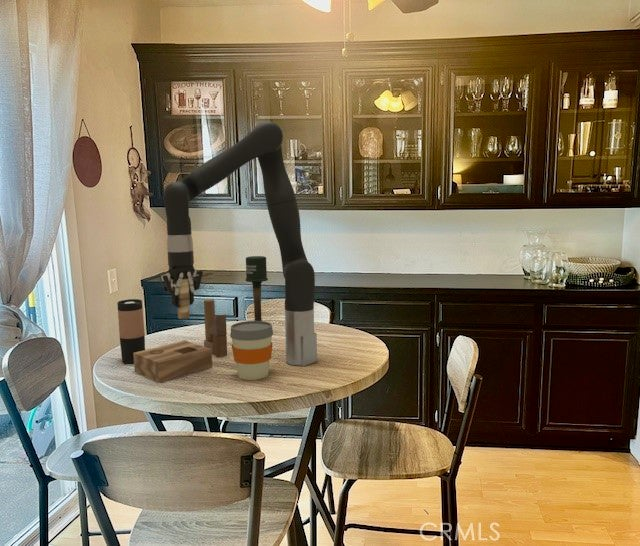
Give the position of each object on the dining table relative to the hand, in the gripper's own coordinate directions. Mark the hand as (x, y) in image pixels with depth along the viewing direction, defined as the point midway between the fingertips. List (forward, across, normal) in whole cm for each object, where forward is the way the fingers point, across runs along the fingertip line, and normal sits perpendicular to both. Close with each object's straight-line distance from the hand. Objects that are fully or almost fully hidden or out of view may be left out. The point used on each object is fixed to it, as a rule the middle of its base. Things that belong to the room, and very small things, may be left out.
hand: (183, 305), depth 156 cm
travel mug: (+20, -7, +20) cm, 29 cm away
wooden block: (+20, +16, +7) cm, 27 cm away
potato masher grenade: (+20, +42, +15) cm, 49 cm away
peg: (+4, 0, 0) cm, 4 cm away
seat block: (+20, -3, +2) cm, 21 cm away
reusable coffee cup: (+20, +10, -20) cm, 30 cm away
